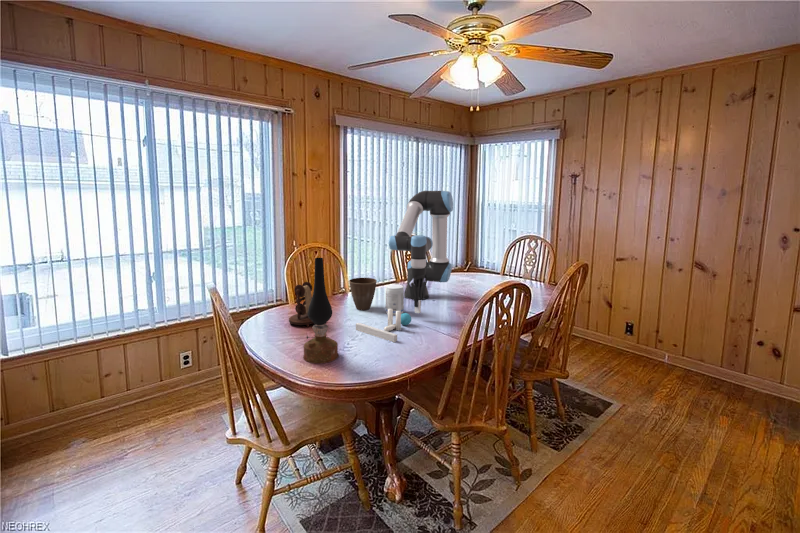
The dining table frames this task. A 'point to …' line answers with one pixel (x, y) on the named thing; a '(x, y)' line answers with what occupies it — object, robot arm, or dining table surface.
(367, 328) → the back wall
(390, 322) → the pin
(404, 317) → the ball
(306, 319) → the dark brown upright piece
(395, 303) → the supplement tub
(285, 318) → the dining table surface
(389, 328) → the front pin
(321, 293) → the oil lamp
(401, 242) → the robot arm
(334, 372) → the dining table surface
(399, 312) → the pin
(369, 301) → the plant pot
